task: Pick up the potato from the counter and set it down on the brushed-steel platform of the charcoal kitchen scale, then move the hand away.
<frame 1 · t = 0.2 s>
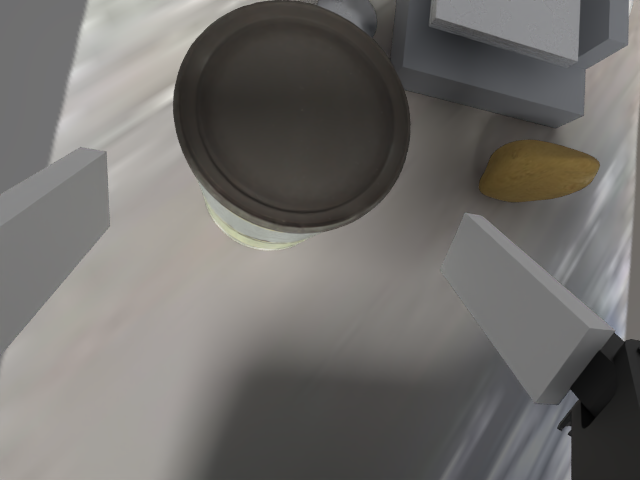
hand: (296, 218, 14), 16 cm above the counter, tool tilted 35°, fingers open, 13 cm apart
potato: (497, 186, 35), on the counter
coffee can: (268, 188, 30), on the counter
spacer: (336, 40, 32), on the counter
scale base: (482, 20, 36), on the counter
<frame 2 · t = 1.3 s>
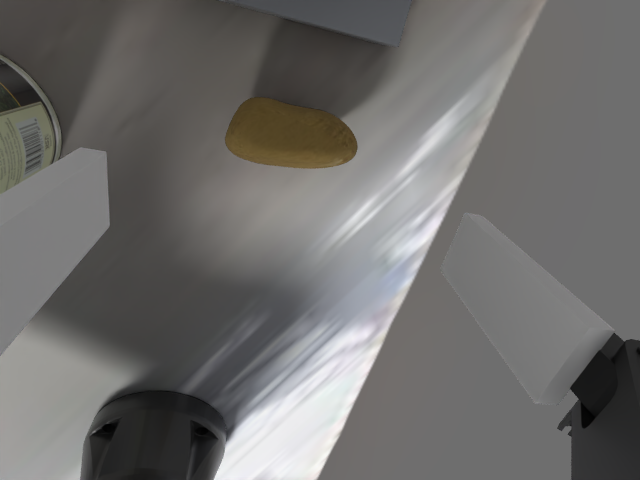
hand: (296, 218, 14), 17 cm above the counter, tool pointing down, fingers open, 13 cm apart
potato: (286, 125, 29), on the counter
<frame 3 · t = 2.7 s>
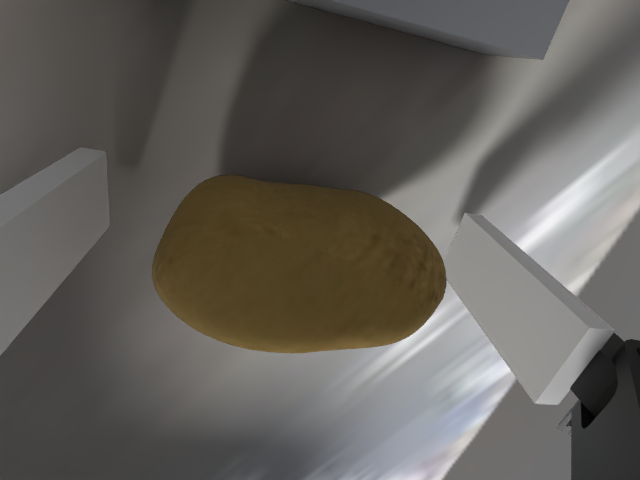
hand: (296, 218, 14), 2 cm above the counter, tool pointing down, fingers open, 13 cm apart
potato: (289, 204, 15), on the counter
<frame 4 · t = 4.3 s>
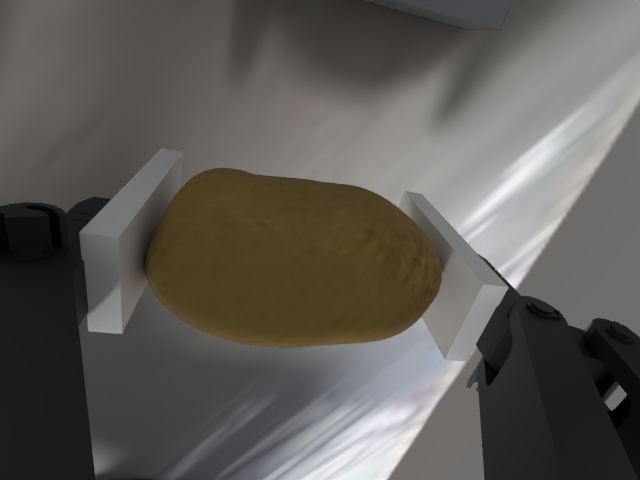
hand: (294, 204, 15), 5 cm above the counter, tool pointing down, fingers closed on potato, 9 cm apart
potato: (285, 199, 15), point 4 cm above the counter, touching gripper
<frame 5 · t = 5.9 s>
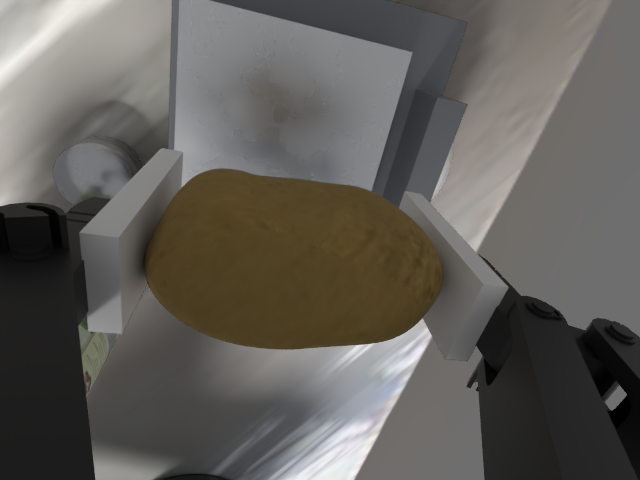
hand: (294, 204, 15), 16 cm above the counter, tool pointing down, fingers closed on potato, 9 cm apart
platform: (283, 139, 24), point 5 cm above the counter, slide at -0.4 cm
potato: (286, 199, 15), point 15 cm above the counter, touching gripper
coffee can: (69, 304, 34), on the counter
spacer: (108, 168, 29), on the counter
scale base: (300, 126, 29), on the counter
when the fingers open (7 cm above the counter, at t = 7.8 s): potato drops 2 cm, resting on platform.
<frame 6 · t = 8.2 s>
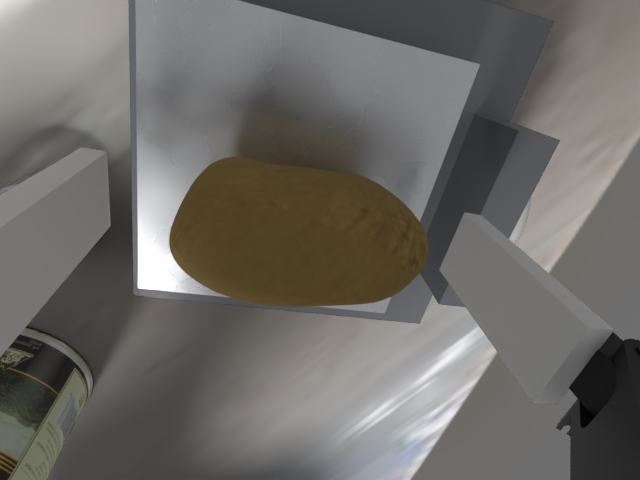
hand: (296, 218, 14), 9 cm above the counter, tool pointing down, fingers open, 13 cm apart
platform: (291, 183, 17), point 5 cm above the counter, slide at -0.8 cm, touching potato
potato: (290, 187, 17), point 5 cm above the counter, touching platform
coffee can: (19, 373, 27), on the counter
scale base: (313, 157, 22), on the counter
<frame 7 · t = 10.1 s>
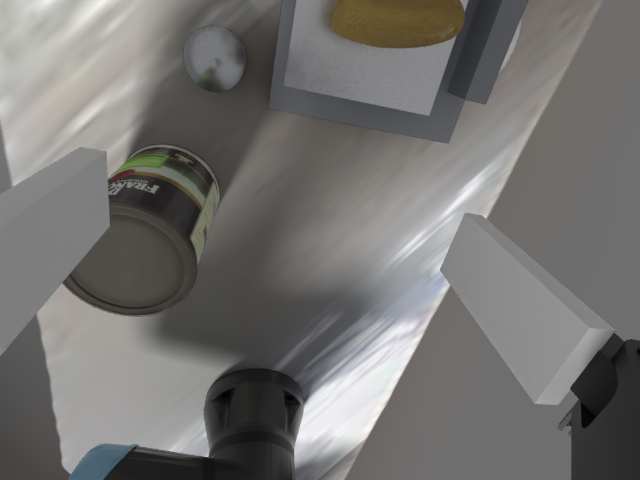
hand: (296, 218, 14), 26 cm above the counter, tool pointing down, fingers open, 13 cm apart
platform: (379, 14, 29), point 5 cm above the counter, slide at -0.8 cm, touching potato
potato: (379, 15, 29), point 5 cm above the counter, touching platform
coffee can: (171, 190, 40), on the counter
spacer: (218, 57, 34), on the counter
scale base: (381, 19, 33), on the counter
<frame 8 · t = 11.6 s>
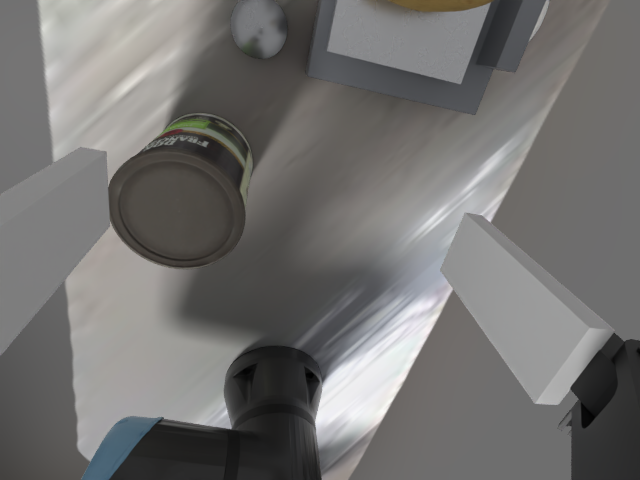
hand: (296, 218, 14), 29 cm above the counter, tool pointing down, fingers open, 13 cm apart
coffee can: (206, 160, 41), on the counter
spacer: (260, 28, 35), on the counter
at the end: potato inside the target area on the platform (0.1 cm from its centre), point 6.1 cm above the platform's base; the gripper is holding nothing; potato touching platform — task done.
